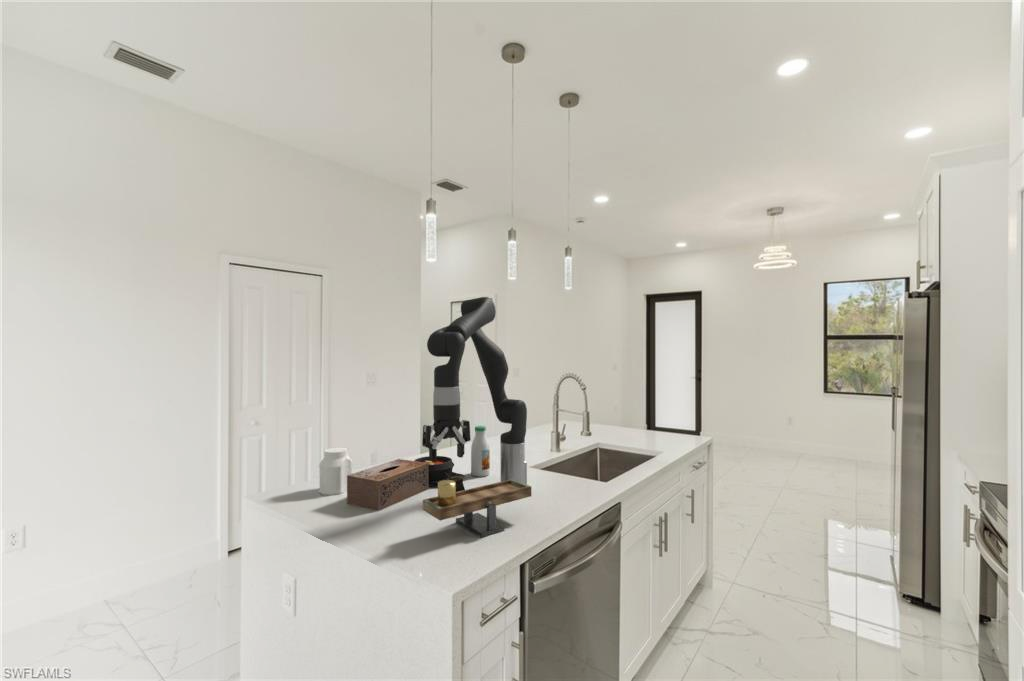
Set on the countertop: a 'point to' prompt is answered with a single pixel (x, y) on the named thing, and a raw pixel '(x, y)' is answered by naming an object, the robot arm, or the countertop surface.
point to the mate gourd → (457, 482)
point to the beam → (478, 499)
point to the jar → (334, 471)
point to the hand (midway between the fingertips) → (447, 459)
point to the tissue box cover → (387, 484)
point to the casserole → (439, 469)
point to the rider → (446, 493)
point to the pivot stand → (481, 522)
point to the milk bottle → (480, 453)
